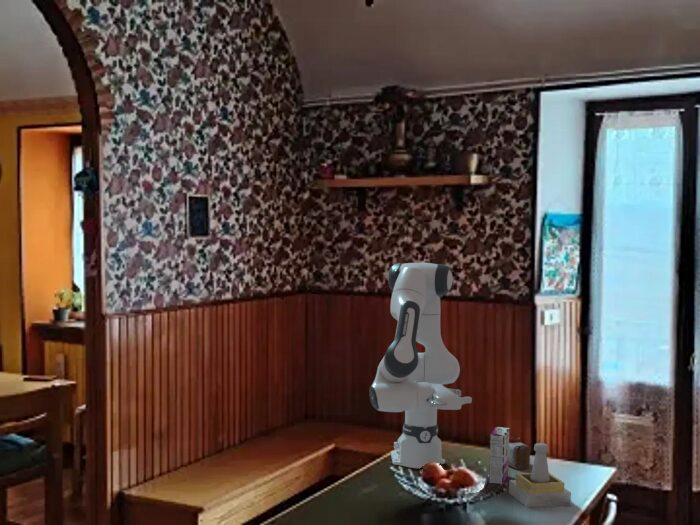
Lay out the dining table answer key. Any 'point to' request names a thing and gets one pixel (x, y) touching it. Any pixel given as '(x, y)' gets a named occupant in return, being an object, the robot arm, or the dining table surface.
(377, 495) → the dining table surface
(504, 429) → the candy bar box
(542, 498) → the yellow and grey tray
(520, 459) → the food item
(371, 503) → the dining table surface
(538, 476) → the salt shaker
